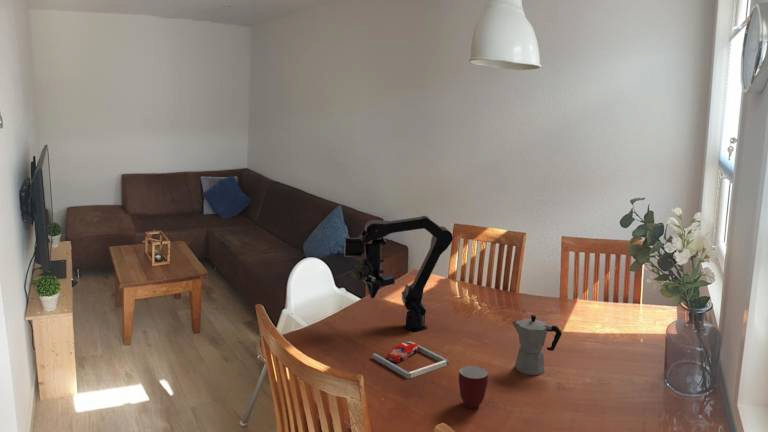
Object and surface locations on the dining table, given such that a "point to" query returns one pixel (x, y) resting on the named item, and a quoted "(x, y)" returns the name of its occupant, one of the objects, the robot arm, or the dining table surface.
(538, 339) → the coffeepot
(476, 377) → the mug
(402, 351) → the race car
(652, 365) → the dining table surface
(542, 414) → the dining table surface
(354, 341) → the dining table surface
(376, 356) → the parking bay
